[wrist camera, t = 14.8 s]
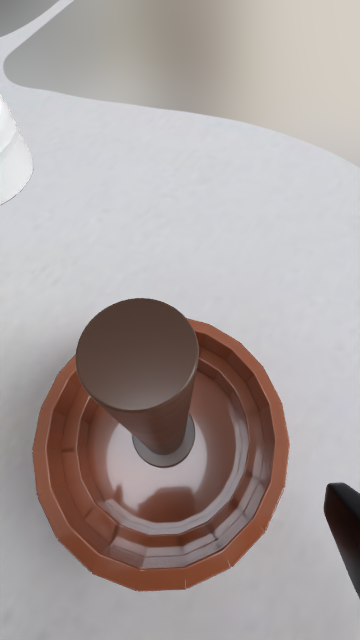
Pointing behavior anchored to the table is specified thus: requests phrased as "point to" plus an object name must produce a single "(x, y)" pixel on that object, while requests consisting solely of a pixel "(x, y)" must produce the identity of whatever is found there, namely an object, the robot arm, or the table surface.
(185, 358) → the brown peg
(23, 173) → the honey pot
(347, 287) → the table surface
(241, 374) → the bowl
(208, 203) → the table surface
